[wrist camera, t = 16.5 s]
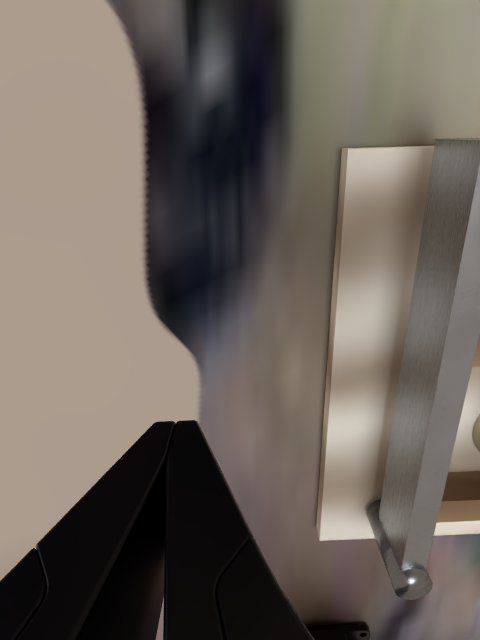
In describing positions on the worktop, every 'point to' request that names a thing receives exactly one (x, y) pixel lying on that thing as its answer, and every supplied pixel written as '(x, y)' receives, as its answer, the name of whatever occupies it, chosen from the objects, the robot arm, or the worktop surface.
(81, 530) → the robot arm
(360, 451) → the cradle
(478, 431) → the pivot pin
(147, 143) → the worktop surface
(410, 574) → the bar
